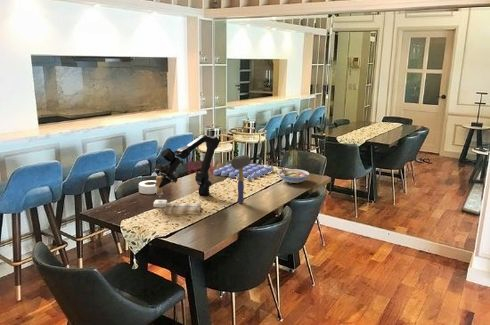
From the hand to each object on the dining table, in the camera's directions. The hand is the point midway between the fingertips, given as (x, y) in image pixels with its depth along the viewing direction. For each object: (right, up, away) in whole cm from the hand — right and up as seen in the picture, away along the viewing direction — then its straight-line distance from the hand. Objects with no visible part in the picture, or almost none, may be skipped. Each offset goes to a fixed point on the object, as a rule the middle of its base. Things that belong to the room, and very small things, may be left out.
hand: (157, 187), depth 239 cm
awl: (+1, -7, +2) cm, 7 cm away
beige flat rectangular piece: (+16, -14, -5) cm, 22 cm away
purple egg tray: (+51, +5, +79) cm, 94 cm away
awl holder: (+1, -12, +4) cm, 12 cm away
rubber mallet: (+50, -11, +9) cm, 52 cm away
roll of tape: (-12, -5, +33) cm, 36 cm away
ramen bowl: (+88, 0, +55) cm, 104 cm away
